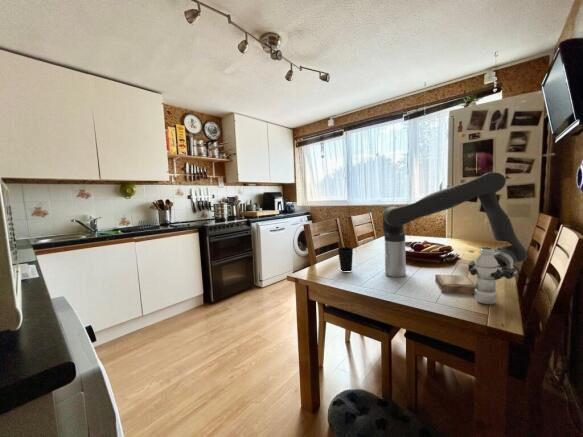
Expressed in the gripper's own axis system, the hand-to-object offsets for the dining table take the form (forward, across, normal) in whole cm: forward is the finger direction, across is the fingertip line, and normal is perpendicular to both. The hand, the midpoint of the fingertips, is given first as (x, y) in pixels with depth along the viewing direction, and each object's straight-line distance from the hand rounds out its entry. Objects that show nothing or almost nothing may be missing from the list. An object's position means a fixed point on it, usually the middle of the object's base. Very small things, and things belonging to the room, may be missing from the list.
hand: (483, 274), depth 88 cm
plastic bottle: (-2, 0, +11) cm, 11 cm away
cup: (+4, -59, +11) cm, 60 cm away
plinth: (-10, -12, +11) cm, 19 cm away
